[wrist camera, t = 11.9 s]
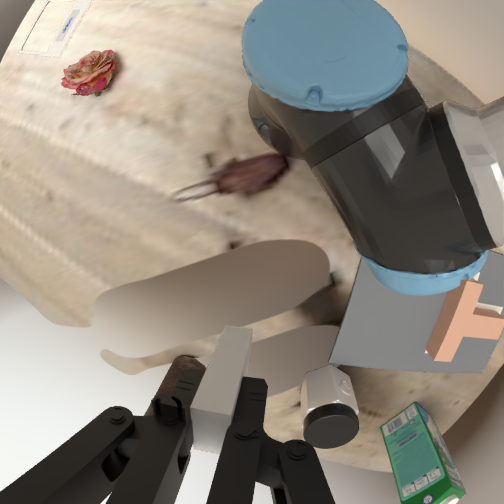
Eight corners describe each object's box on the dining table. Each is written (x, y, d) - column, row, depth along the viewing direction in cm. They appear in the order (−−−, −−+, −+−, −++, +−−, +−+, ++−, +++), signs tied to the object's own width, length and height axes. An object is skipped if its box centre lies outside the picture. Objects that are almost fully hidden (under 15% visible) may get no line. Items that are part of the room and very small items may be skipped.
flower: (114, 108, 37) (102, 68, 30) (65, 116, 36) (49, 80, 29) (130, 73, 40) (122, 37, 33) (84, 81, 39) (73, 48, 32)
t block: (454, 272, 38) (466, 280, 35) (504, 285, 38) (516, 293, 34) (424, 348, 42) (433, 360, 38) (476, 352, 41) (486, 363, 37)
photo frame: (58, 57, 36) (17, 52, 36) (61, 58, 37) (20, 53, 37) (94, -4, 32) (47, -1, 32) (97, -2, 33) (50, 0, 33)
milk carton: (432, 416, 46) (469, 502, 22) (399, 440, 48) (425, 527, 24) (415, 401, 46) (456, 497, 21) (379, 426, 48) (405, 524, 24)
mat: (371, 216, 39) (372, 216, 38) (524, 263, 36) (526, 263, 36) (328, 360, 45) (328, 362, 44) (480, 371, 43) (481, 373, 42)
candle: (216, 361, 47) (182, 450, 28) (210, 391, 49) (180, 476, 30) (173, 349, 48) (123, 429, 28) (171, 379, 49) (128, 457, 30)
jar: (358, 379, 45) (372, 427, 34) (326, 407, 47) (332, 455, 36) (322, 356, 45) (330, 405, 33) (290, 386, 47) (289, 436, 35)
